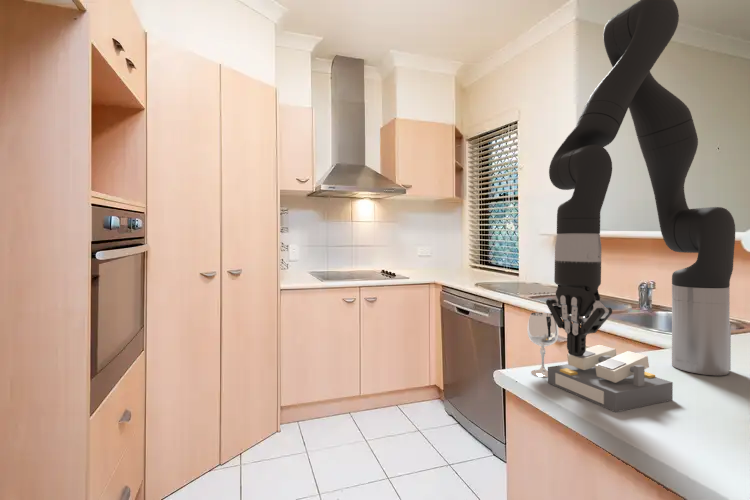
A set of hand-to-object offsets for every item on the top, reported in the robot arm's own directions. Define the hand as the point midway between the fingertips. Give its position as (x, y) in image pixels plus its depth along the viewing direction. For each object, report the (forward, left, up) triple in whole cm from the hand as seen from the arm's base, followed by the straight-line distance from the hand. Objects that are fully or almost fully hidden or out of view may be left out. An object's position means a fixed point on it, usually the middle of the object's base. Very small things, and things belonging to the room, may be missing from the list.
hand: (575, 354), depth 72 cm
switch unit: (-4, +3, -6) cm, 8 cm away
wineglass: (0, -8, -6) cm, 11 cm away
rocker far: (-4, +6, -1) cm, 7 cm away
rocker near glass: (-4, 0, -1) cm, 4 cm away
